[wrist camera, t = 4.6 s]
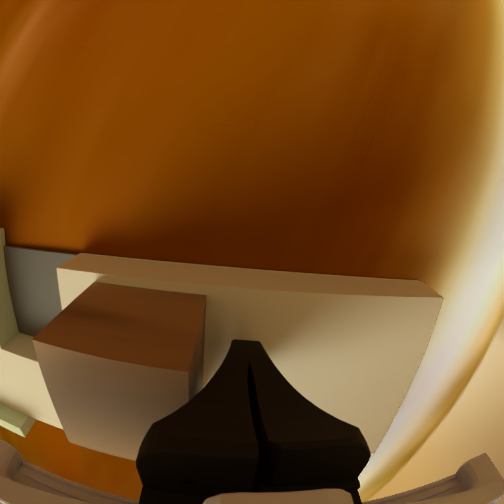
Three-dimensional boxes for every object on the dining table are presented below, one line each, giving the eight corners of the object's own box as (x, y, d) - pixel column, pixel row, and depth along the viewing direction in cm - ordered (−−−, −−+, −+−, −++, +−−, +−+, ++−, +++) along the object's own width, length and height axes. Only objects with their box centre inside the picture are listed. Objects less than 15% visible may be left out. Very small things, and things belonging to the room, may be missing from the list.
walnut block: (202, 387, 13) (191, 470, 9) (106, 372, 13) (69, 441, 8) (206, 295, 12) (188, 372, 7) (94, 281, 12) (31, 339, 7)
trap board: (359, 437, 19) (378, 483, 14) (-8, 382, 17) (-34, 412, 12) (423, 263, 15) (475, 296, 10) (-48, 224, 13) (-92, 240, 8)
